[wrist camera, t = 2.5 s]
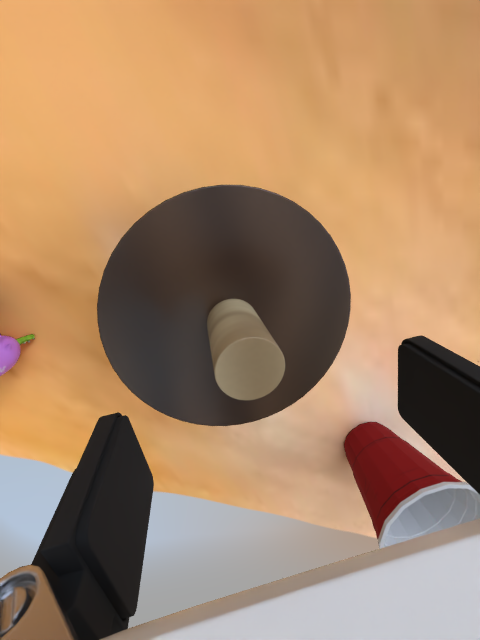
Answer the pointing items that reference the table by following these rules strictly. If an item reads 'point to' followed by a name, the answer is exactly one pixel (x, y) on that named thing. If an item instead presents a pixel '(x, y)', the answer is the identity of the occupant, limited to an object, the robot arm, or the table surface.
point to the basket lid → (223, 305)
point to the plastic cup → (405, 487)
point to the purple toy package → (10, 351)
